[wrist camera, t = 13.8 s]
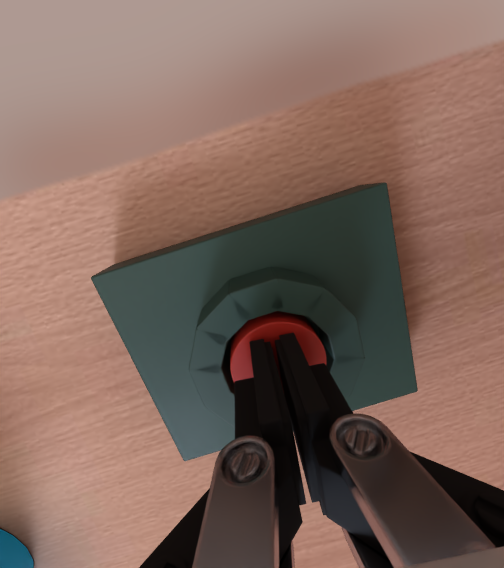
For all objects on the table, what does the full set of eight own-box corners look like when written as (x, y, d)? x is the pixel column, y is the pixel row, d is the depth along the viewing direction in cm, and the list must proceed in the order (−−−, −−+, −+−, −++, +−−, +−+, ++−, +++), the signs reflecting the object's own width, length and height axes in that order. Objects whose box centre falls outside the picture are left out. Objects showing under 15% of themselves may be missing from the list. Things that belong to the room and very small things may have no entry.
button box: (361, 184, 13) (417, 178, 9) (393, 365, 16) (445, 419, 12) (112, 264, 13) (62, 292, 9) (190, 427, 16) (177, 499, 12)
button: (302, 293, 11) (314, 309, 10) (322, 365, 12) (336, 391, 11) (218, 319, 11) (216, 339, 10) (245, 389, 13) (247, 417, 11)
